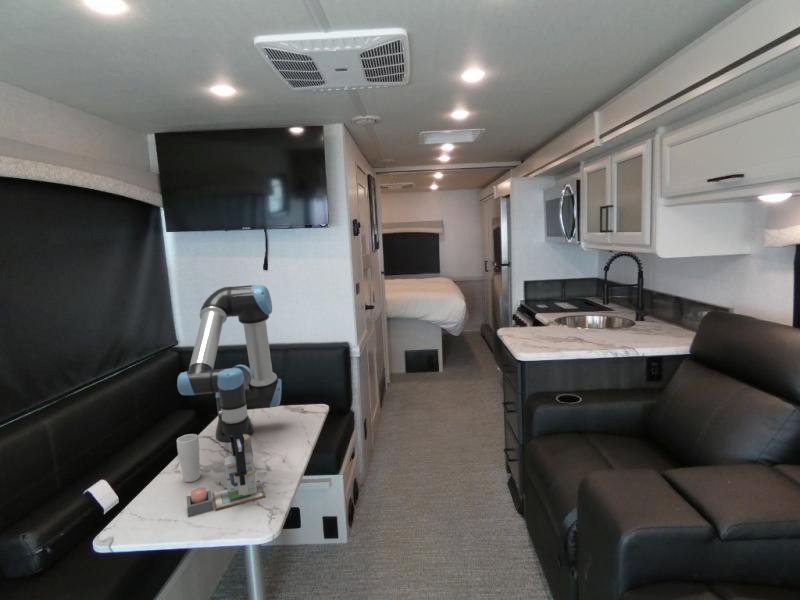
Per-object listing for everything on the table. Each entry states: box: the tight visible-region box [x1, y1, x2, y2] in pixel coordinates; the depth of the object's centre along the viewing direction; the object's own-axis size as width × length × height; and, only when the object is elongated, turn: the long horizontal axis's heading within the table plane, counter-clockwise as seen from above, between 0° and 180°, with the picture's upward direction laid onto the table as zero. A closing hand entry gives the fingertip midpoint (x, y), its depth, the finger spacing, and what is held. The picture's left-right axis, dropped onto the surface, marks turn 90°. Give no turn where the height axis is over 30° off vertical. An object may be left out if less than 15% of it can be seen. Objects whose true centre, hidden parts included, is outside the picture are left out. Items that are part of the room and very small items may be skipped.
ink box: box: [223, 453, 257, 500], centre depth 148 cm, size 9×5×12 cm, turn 114°
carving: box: [230, 434, 254, 457], centre depth 167 cm, size 6×8×12 cm
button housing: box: [186, 490, 214, 518], centre depth 144 cm, size 7×7×3 cm
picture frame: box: [211, 479, 267, 512], centre depth 150 cm, size 11×15×1 cm
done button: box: [190, 486, 207, 505], centre depth 144 cm, size 4×4×4 cm
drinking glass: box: [176, 433, 201, 483], centre depth 161 cm, size 7×7×15 cm
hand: (242, 488), depth 148 cm, fingers closed on ink box, 5 cm apart
